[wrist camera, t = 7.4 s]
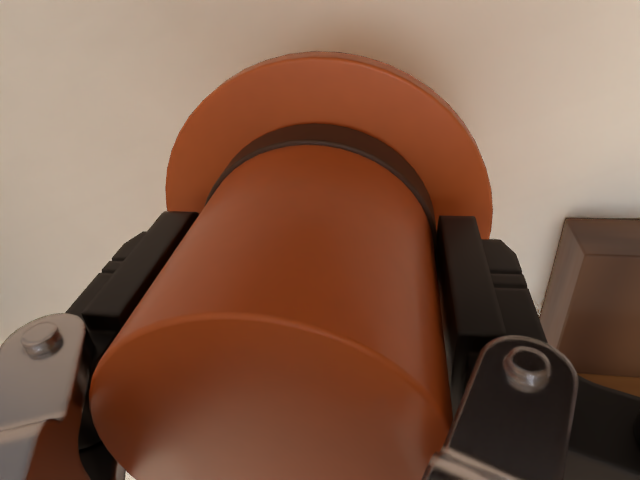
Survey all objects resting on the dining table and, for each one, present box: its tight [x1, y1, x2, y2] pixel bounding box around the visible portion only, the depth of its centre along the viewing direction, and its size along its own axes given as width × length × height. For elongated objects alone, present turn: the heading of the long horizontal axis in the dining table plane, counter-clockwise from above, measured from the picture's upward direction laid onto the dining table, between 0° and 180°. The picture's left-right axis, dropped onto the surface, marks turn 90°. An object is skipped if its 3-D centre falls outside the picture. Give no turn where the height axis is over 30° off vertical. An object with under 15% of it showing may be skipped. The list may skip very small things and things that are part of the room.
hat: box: [89, 51, 493, 480], centre depth 9 cm, size 8×8×7 cm
